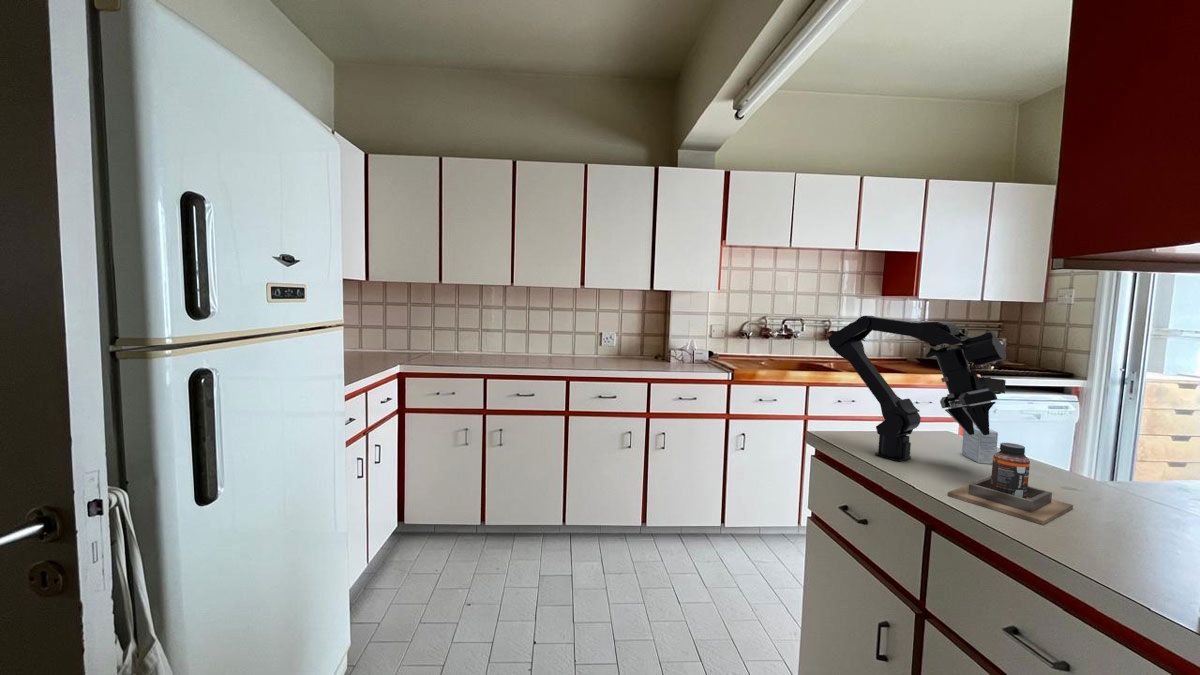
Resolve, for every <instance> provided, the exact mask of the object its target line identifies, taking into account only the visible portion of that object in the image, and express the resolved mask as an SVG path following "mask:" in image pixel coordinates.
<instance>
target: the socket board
mask: <svg viewBox="0 0 1200 675" xmlns="http://www.w3.org/2000/svg"><path fill="white" fill-rule="evenodd" d="M990 487H991V475H990V476H988V477H985V478H981V479H978V480H977V481H974V482H971V483H969V484H967V485H964V486H963V485H962V486H961V487H958V488H956V489H953V490H950V491H948V492H947V497H951V498H954V499H957V500H960V501H963V502H967V503H970V504H973V505H975V506H980V507H983V508H986V509H990V510H993V511H996V512H999V513H1003V514H1004V515H1005V514H1006V515H1009V516H1012V517H1016V518H1019V519H1022V520H1025V521H1028V522H1032V523H1035V524H1038V525H1042V526H1043V525H1046V524H1048V523H1050V522H1051V521H1052V520H1055V519H1057V518H1059V517H1060V516H1063V515H1064V514H1067V512H1069V511H1072V510H1073V509H1074V504H1071V503H1068V502H1064V501H1059V500H1057V499H1053V498H1052V497H1053V492H1052V491H1049V490H1045V489H1041V488H1037V487H1033V486H1029V485H1028V488H1027V497H1026V499H1025V498H1021V497H1018V496H1014V495H1011V494H1007V493H1003V492H1000V491H996V490H993V489H990Z"/></svg>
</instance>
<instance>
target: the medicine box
mask: <svg viewBox="0 0 1200 675" xmlns="http://www.w3.org/2000/svg"><path fill="white" fill-rule="evenodd" d="M973 427H974V434H973V435H969V434H968V433H967V432H966V431H965V430H964V429H963V435H962V447H961V455H963V456H965V458H966V457H967V458H968V459H970V460H972V461H974V462H976V463H978V464H986V465H987V464H988V465H992V464H993V456H994V454H995V453H996V452H998V451H997V450H998V439H999V433H998V431H996V430H993V429H991V428H989V435H983V434H982V433H981V431H980V430H979V429H978V428H977V427H976V425H975V424H973Z"/></svg>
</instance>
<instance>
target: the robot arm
mask: <svg viewBox="0 0 1200 675" xmlns="http://www.w3.org/2000/svg"><path fill="white" fill-rule="evenodd" d="M872 331H873V332H881V333H886V334H887V333H888V334H895V335H900V336H906V337H911V338H914V339H917V340H919V341H922V342H924V343H928V344H931V345H934V346H935V347H934V346H933V347H930V348H929V351H928V352H927V353H926V355H925V358H936V361H937V364H938V366H939V368H940V372H941V374H942V377H941V378H940V380H941V382H942V383H945V385H946V389H947V391H948V393H947V394H946V395H945V396H943V397H941V399H940V400H939V403H940V405H941V409H944V411H945V412H947V414H948V415H949V416H951V418H952V419H954V421H955V422H956V423H957V424H958V425H959V426H961V428H962V430H963V431H964V430H965V431H966V432H967V433H968V434H969V435H973V434H974V427H973V425H976V427H977V428H978V429H979V430H980V431H981V433H982V434H983V435H989V429H990V414H989V413H990V409H991V408H992V407H993V406H994V405H995V404H996V400H998V397H997V396H998V395H1001V394H1006V383H1007V382H1006V380H1007V379H1002V378H994V377H993V378H992V377H991V376H987V377H985V376H978V373H977V372H976V371H971V369H970V365H969V363H970V364H971V363H972V365H974V366H976V367H978V366H983V365H987V364H991V363H995V362H1000V361H1004V360H1006V359H1007V351H1006V348H1005V346H1004V344H1003V343H1002V342H1001V341H1000V339H999V338H998V337H997V336H996V334H995V332H993V331H990V332H984V333H983V334H981V335H978V336H973V337H970V336H968V335H966V334H965V333H963V332H961V331H960V329H959V327H958V326H957V325H956V324H955V323H953V322H951V321H921V322H916V321H908V320H902V319H901V320H900V319H894V318H887V317H886V318H884V317H877V316H874V315H861V316H860V317H859V318H857V319H855V321H852V322H850V324H848V325H846V326H844V327H841V329H839V330H835V331H833V332H831V334H830V336H829V338H828V345H829V346H830V348H831V349H832V350H833V351H834V352H835V353H836V354H837V355H839V357H841V358H843V359H845V360H846V361H847V362H849V363H850V366H852V367H853V369H854V370H855V372H856V373H857V375H858V376H859V378H860V379H861V380H862V381H863V383H864V384H865V385H866V387H867V389H868V390H869V391H870V393H871V394H872V395H873V396H874V398H875V400H877V402H878V404H879V405H880V406H879V407H880V410H881V415H882V417H883V419H884V420H883V421H882V422H881V423H879V424H877V425H876V426H875V429H876V432H877V435H879V436H878V449H877V450H878V451H877V452H874V455H875V456H877V455H879V456H878V457H881V456H882V457H881V458H884V457H886V458H885V459H888V458H889V459H888V460H892V461H895V460H896V461H895V462H901V461H905V460H910V459H912V456H911V445H912V442H910V435H911V434H912V433H913V431H914V430H915V429H917V428H918V427H919V426H920V423H921V419H922V418H921V415H920V413H919V412H920V410H919V409H918V408H916V407H915V405H914V403H913V402H912V400H911V399H910V398H903V399H902V398H901V397H900V396H898V395H897V394H896V392H895V391H894V390H893V389H892V387H891V386H890V385H889V383H888V382H887V381H886V380H885V378H884V377H883V376H882V374H881V373H880V371H879V370H878V369H877V368H876V366H875V365H874V364H873V362H872V361H871V359H869V357H868V356H867V354H866V352H865V347H864V344H863V340H864V339H866V338H867V337H868V335H870V333H871V332H872ZM941 345H942V346H943V345H944V346H943V347H939V348H937V347H936V346H941ZM945 345H947V346H945ZM948 345H949V346H948ZM952 346H959V347H955V348H954V347H952Z"/></svg>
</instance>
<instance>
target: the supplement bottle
mask: <svg viewBox="0 0 1200 675" xmlns="http://www.w3.org/2000/svg"><path fill="white" fill-rule="evenodd" d="M999 450H1000V451H997V452H996V453H995V454H994V456H993V464H991V466H992V467H991V475H990V476H991V487H990V489H993V490H996V491H1000V492H1003V493H1007V494H1011V495H1014V496H1018V497H1021V498H1025V499H1026V497H1027V488H1028V486H1029V477H1030V476H1029V475H1030V464H1031V461H1030V459H1029V458H1028V457H1027V455H1026V454H1025V453H1026V447H1025V446H1024V445H1021V444H1019V443H1018V444H1017V443H1011V442H1000V444H999Z"/></svg>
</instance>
